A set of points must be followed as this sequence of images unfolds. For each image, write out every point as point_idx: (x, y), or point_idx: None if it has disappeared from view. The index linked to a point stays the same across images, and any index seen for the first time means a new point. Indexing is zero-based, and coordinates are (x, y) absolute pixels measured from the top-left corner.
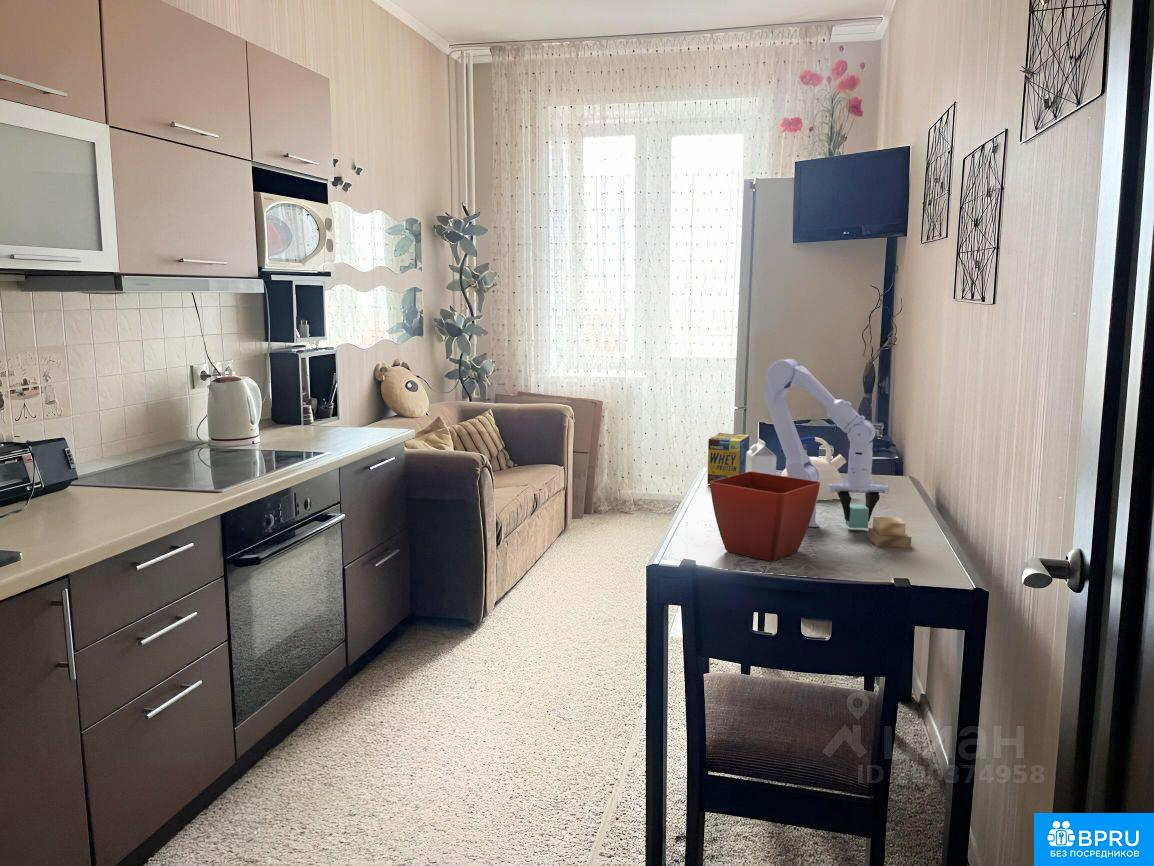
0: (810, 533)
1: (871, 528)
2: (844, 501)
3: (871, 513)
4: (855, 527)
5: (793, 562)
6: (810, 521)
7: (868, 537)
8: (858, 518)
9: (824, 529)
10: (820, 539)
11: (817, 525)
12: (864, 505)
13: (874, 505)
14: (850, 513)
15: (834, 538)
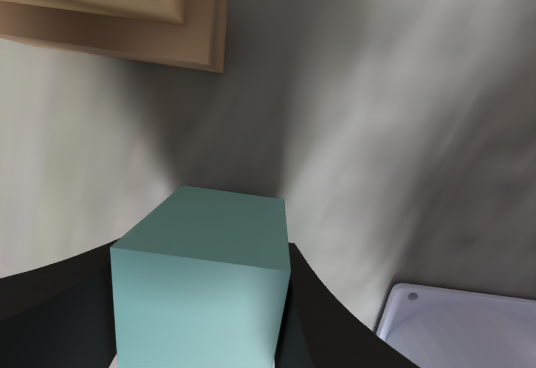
0: (499, 184)
1: (189, 44)
2: (385, 350)
3: (108, 244)
4: (252, 195)
5: None
6: (443, 317)
7: (223, 57)
8: (228, 216)
9: (382, 252)
10: (525, 47)
11: (407, 288)
12: (121, 364)
13: (18, 274)
14: (287, 246)
15: (426, 68)
